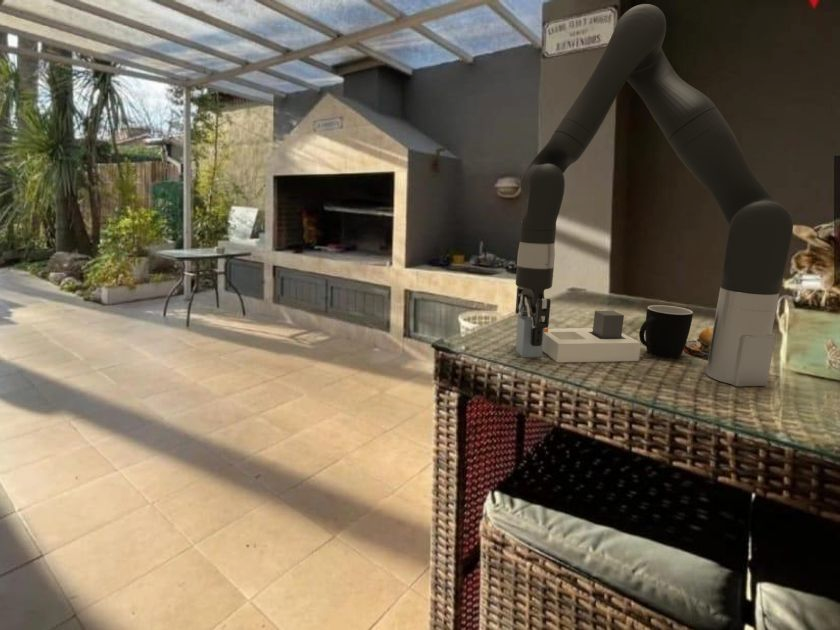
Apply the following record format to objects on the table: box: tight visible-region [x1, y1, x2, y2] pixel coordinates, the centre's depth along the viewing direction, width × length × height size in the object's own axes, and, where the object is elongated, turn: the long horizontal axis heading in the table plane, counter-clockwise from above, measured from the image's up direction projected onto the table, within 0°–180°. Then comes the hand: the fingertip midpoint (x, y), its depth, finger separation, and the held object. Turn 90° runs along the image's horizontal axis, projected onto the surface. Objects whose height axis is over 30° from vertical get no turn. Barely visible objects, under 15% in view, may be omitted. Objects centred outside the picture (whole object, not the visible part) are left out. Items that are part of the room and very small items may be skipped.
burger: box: [683, 323, 713, 361], centre depth 110 cm, size 12×12×8 cm
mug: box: [638, 304, 694, 359], centre depth 108 cm, size 12×9×10 cm
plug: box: [515, 315, 544, 358], centre depth 106 cm, size 4×4×8 cm
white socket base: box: [542, 310, 642, 363], centre depth 108 cm, size 12×18×9 cm, turn 97°
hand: (529, 340), depth 107 cm, fingers open, 7 cm apart
